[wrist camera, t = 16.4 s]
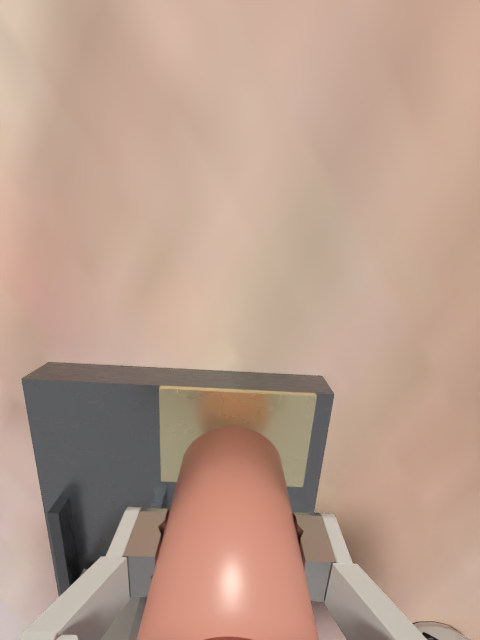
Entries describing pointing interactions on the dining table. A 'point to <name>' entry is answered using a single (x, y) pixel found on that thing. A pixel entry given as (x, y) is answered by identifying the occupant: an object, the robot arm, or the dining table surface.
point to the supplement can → (438, 631)
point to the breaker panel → (154, 441)
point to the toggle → (126, 620)
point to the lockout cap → (229, 548)
